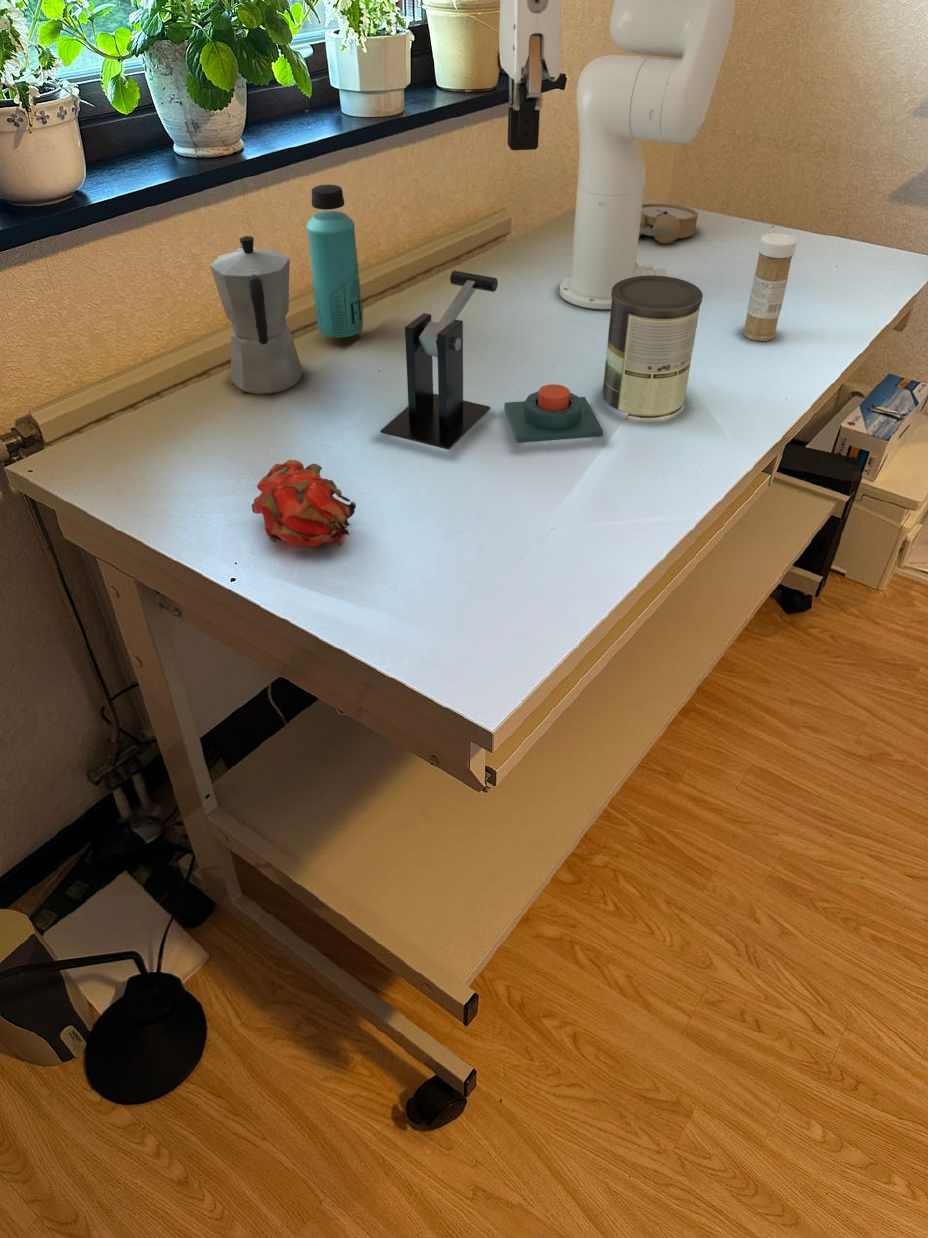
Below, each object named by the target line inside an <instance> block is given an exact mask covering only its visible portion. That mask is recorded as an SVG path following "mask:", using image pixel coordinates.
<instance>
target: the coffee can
mask: <svg viewBox="0 0 928 1238" xmlns="http://www.w3.org/2000/svg"><path fill="white" fill-rule="evenodd" d="M611 297H612V303H611V309H610V313H609V314H610V315H609V324H608V335H607V343H606V344H607V347H606V354H605V355H606V356H605V364H604V365H605V366H604V375H603V384H602V398H603V400H604V402H605V403H606V404H607V405H609V406H610V407H612V408H613V409H615V410H617V411H620V412H622V413H626V414H627V415H626V417H625V418H624V420H626V421H628V422H629V421H630V422H636V423H660V422H665V421H669V420H672V419H674V418H676V417H678V416H679V415H680V414H681V413H682V412H683V411H684V409H685V401H686V400H685V399H686V393H687V387H688V382H689V376H690V369H691V364H692V363H691V362H692V355H693V351H694V345H695V338H696V333H697V328H698V326H697V325H698V320H699V314H700V307H701V305H702V302H703V297H704V295H703V292H702V290H701V289H700V288H699V287H698V286H697V285H695V284H693V283H692V282H689V281H687V280H685V279H682V278H677V277H673V276H667V275H666V276H655V275H648V276H637V277H631V278H627V279H624V280H622V281H619V282H618V283H616V284H615V285H614V286H613V288H612V292H611Z"/></svg>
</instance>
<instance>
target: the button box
mask: <svg viewBox="0 0 928 1238" xmlns="http://www.w3.org/2000/svg"><path fill="white" fill-rule="evenodd" d="M538 393H539V390H537V391H535V392H532V393H530V394H528V395H527V397H526V398H525V400H523V401H509V402H504V405H503V406H504V407H503V408H504V411H505V414H506V416H507V419H508V421H509V425H510V427H511V430H512V432H513V435H514V437H515V440H516V442H517V444H519V443H520V444H521V443H532V442H545V441H546V442H547V441H559V440H569V439H570V440H571V439H584V438H595V437H603V433H604V430H603V428H602V426H601V425H600V424H601V423H599V421H598V419H597V417H596V415H595V412H594V411H593V409H592V407H591V406H590V403H589V402H588V401H587V398H586V396H579V395H576V394H574V393H572V392H570V396H569V406H568V408H567V409H564V410H561V411H549V410H543V409H542V408H540V407H539V406H538Z"/></svg>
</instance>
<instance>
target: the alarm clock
mask: <svg viewBox="0 0 928 1238" xmlns="http://www.w3.org/2000/svg"><path fill="white" fill-rule="evenodd" d="M698 217H699V213H698V212H697V211H696V210H695V209H692V208H690V207H688V206H687V207H686V206H683V205H682V206H681V205H677V204H671V203H662V202H661V203H660V202H659V203H657V202H656V203H655V202H654V203H653V202H652V203H651V202H650V203H649V202H648V203H643V205H642V214H641V222H640V231H639V238H640V237H641V236H642V235H645V236H649V237H653V238H654V239H655V240H656V242H658V243H660V244H663V245H668V244H671V243H673V242H674V241H675V240H677V239H681V238H682V239H683V238H689V237H692V236H694V235H695V234H696V227H697V223H698V222H697V221H698Z"/></svg>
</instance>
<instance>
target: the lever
mask: <svg viewBox="0 0 928 1238" xmlns="http://www.w3.org/2000/svg"><path fill="white" fill-rule="evenodd" d="M449 279H450V280H449V281H450V284H451V285H454V286H458V287H459V286H460V287H461V288H460V290H459V291H458V292H457V294H456V295H455V297H454V299H453V300H452V301H451V303H450V304H449V306H448V307H447V309H446V310H445V312H444V313H443V315H442V316H441V317H440V319H439V320H438V322H436V321H432V320H431V321H429V323H428V324H427V326H426V327H425V329H424V330H423V331H422V333H421V334H420V336H419V341H420V346H421V350H422V354H425V355H430V356H432V357H435V358H438V350H437V334H438V333H439V332H440V331H441V330H443V329H444V328H445V327H446V326H448V325H449V324H450V323H451V322H453V321H454V320H455V319H456V320H457V318H458V317H459V315H460V314H461V312H462V310H463V309H464V308H465V306H466V305H467V303H468V302H469V300H470V299H471V298H472V296H473V295H474V293H475V291H476V290H481V291H485V292H490V293H495V292H496V291H497V289H498V285H499V280H498V278H497V277H493V276H488V275H487V276H486V275H481V274H477V273H476V274H475V273H471V272H466V271H460V270H452V271H451V273H450V276H449Z"/></svg>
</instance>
